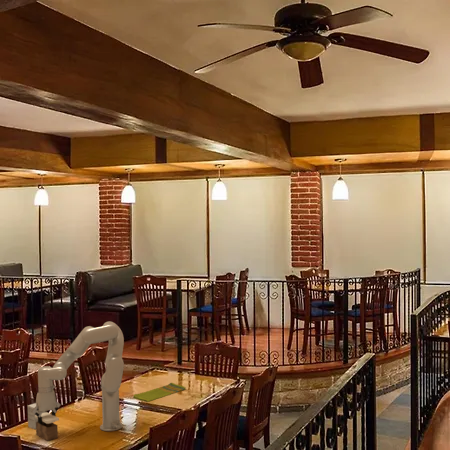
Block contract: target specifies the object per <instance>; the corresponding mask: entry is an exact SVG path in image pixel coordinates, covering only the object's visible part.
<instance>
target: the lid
mask: <svg viewBox="0 0 450 450" xmlns="http://www.w3.org/2000/svg"><path fill="white" fill-rule="evenodd" d="M41 417H42V421H43V422H45V423H46V424H47V423H48V424H49V423H55V422H59V421H60V418H59V417H58V416H57V415H56V416H53V415H51V413H49V412H47V411H45V413H42V415H41ZM35 418H37V419H38V416H36V415H35Z"/></svg>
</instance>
